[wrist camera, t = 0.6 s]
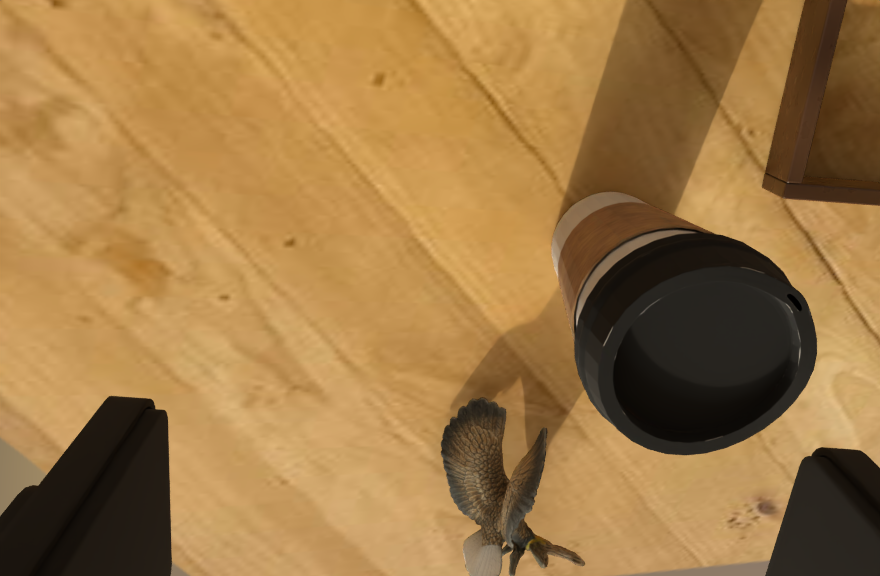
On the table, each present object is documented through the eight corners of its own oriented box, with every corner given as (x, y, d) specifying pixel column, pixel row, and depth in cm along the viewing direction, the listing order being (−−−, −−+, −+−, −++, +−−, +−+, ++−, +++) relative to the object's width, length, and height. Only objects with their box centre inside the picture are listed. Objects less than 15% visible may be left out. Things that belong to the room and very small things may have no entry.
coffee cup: (715, 247, 41) (875, 371, 27) (593, 347, 42) (683, 512, 28) (618, 132, 38) (738, 201, 24) (494, 243, 40) (539, 367, 26)
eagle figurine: (606, 508, 45) (571, 398, 40) (567, 615, 40) (522, 503, 35) (493, 489, 49) (449, 387, 44) (445, 584, 44) (391, 480, 40)
